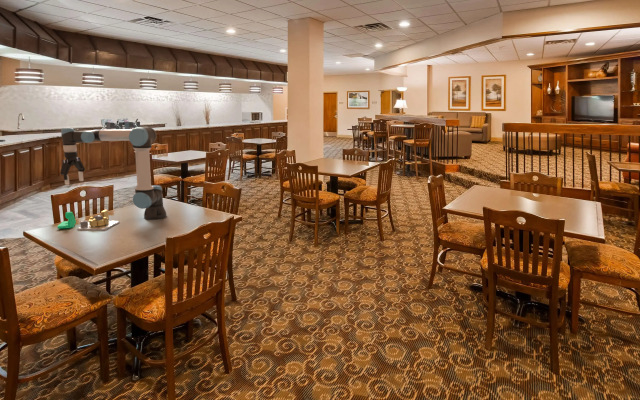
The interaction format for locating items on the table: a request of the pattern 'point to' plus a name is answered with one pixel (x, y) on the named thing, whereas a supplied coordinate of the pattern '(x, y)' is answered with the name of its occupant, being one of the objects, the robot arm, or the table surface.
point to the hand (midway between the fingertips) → (74, 182)
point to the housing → (86, 226)
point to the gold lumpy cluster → (100, 222)
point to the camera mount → (70, 222)
